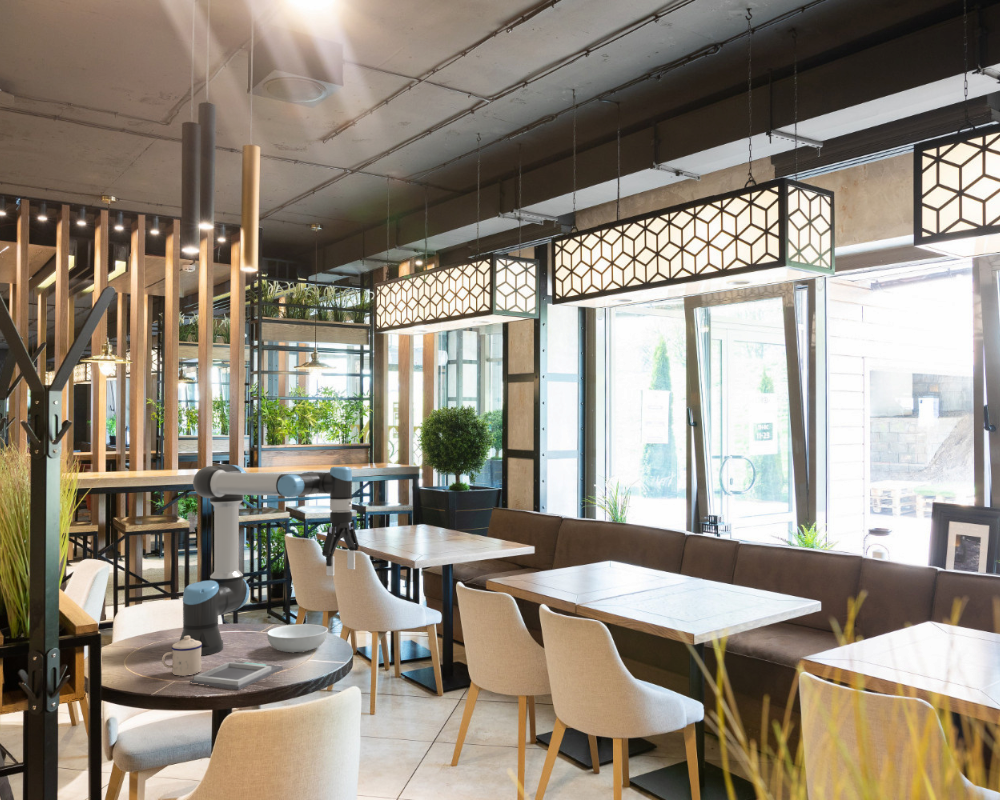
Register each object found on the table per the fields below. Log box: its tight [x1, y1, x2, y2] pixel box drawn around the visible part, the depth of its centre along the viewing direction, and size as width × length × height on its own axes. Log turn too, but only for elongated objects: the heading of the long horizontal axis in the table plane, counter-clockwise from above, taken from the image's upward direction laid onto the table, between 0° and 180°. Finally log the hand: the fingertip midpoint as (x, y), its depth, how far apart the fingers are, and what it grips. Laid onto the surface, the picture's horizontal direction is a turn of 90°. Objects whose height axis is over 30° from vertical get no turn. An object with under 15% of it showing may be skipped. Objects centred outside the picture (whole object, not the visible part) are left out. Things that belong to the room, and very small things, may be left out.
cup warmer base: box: [189, 660, 283, 691], centre depth 255 cm, size 18×22×2 cm
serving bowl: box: [266, 623, 329, 653], centre depth 286 cm, size 21×21×7 cm
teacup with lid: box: [161, 636, 202, 675], centre depth 259 cm, size 12×9×12 cm
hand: (341, 572), depth 282 cm, fingers open, 13 cm apart
